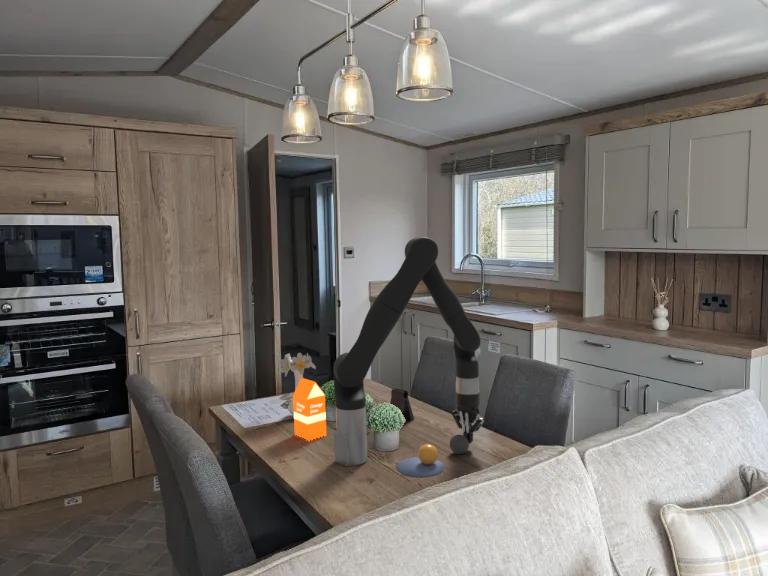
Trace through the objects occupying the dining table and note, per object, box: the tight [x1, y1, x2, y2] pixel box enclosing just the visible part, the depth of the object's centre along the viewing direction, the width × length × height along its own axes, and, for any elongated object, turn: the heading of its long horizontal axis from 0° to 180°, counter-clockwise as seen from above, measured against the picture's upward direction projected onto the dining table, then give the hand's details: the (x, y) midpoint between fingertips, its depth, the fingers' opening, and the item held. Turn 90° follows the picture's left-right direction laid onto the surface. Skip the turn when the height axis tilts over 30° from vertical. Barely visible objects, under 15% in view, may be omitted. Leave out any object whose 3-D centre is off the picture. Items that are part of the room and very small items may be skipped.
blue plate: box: [396, 456, 445, 478], centre depth 166 cm, size 14×14×1 cm
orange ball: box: [417, 443, 439, 465], centre depth 168 cm, size 6×6×6 cm
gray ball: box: [449, 434, 470, 455], centre depth 176 cm, size 6×6×6 cm
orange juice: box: [292, 377, 327, 442], centre depth 195 cm, size 8×9×20 cm
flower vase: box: [279, 352, 317, 418], centre depth 217 cm, size 13×18×25 cm
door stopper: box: [389, 387, 415, 423], centre depth 208 cm, size 9×6×12 cm, turn 135°
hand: (468, 442), depth 179 cm, fingers closed
